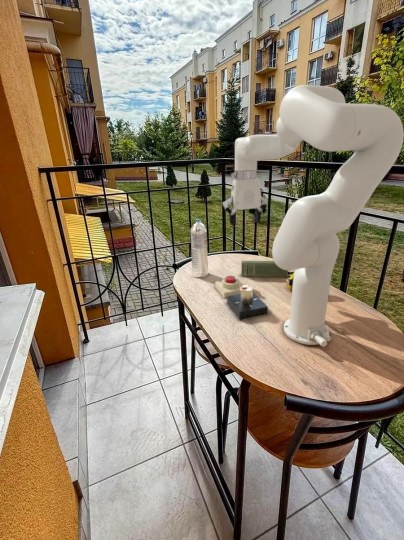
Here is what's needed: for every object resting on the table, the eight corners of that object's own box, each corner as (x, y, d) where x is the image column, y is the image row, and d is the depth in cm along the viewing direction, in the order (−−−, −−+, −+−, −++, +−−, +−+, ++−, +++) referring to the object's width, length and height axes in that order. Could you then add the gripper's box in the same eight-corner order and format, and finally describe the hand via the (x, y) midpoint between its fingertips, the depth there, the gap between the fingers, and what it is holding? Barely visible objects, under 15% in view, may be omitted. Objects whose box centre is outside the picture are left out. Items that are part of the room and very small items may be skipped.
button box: (246, 294, 106) (246, 284, 104) (224, 298, 103) (224, 288, 102) (236, 282, 115) (236, 274, 113) (215, 286, 112) (215, 277, 111)
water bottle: (198, 270, 128) (196, 216, 119) (211, 273, 124) (209, 218, 115) (189, 275, 123) (186, 220, 114) (202, 279, 119) (199, 222, 110)
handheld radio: (241, 273, 123) (300, 274, 120) (241, 277, 120) (301, 277, 117) (241, 259, 120) (301, 259, 117) (241, 263, 117) (303, 263, 114)
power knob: (249, 297, 97) (249, 283, 95) (254, 302, 94) (255, 288, 92) (238, 299, 96) (238, 285, 94) (243, 305, 93) (243, 290, 91)
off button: (236, 283, 107) (236, 278, 106) (227, 284, 106) (227, 280, 105) (233, 279, 110) (233, 275, 109) (224, 280, 109) (224, 276, 108)
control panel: (267, 314, 92) (267, 306, 91) (239, 320, 90) (239, 311, 89) (252, 298, 102) (252, 291, 101) (226, 303, 100) (226, 295, 98)
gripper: (226, 178, 92) (226, 228, 98) (273, 174, 96) (271, 223, 102) (218, 176, 99) (219, 223, 104) (263, 173, 103) (261, 219, 109)
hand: (245, 223), depth 103 cm, fingers open, 9 cm apart
